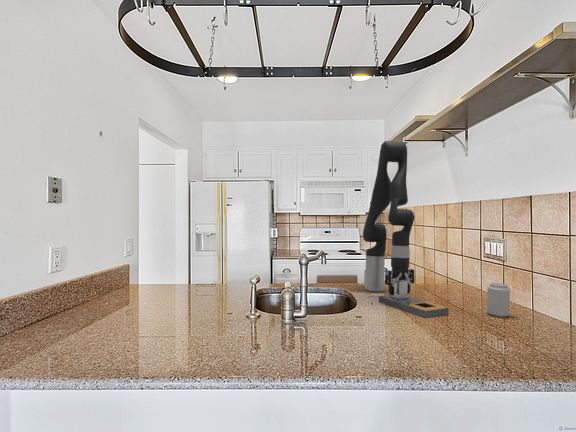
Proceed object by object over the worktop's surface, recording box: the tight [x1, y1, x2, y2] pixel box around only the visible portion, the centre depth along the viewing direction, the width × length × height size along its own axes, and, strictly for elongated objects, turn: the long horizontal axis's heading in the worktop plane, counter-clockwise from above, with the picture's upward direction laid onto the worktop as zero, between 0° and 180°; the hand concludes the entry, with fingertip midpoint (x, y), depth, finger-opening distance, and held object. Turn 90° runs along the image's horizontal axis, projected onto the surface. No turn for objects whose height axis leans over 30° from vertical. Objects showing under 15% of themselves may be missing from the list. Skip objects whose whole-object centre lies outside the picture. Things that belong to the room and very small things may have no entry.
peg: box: [392, 280, 408, 300], centre depth 154 cm, size 4×4×10 cm
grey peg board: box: [378, 294, 449, 319], centre depth 147 cm, size 26×12×3 cm, turn 25°
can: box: [486, 282, 511, 318], centre depth 139 cm, size 8×8×12 cm
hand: (399, 294), depth 154 cm, fingers open, 8 cm apart
